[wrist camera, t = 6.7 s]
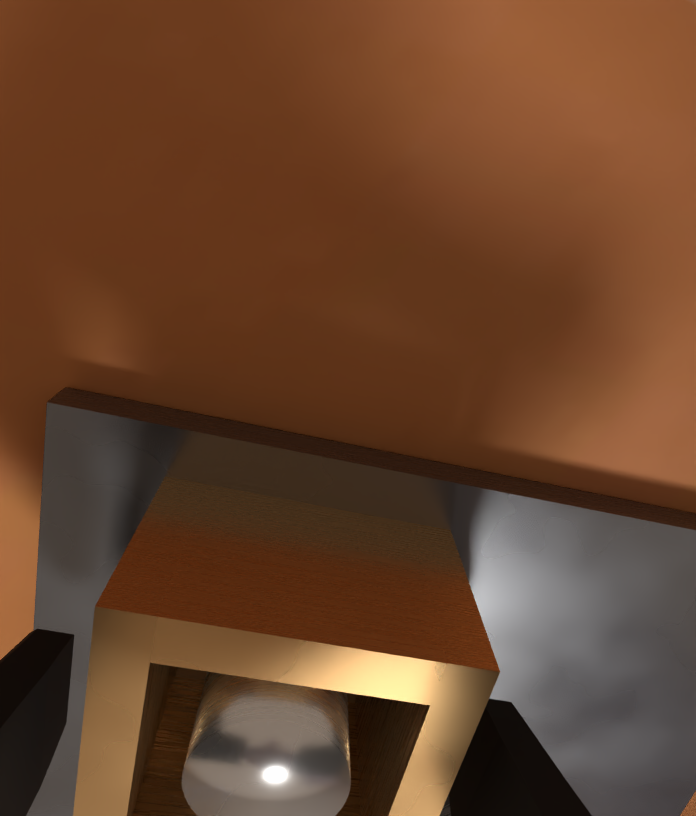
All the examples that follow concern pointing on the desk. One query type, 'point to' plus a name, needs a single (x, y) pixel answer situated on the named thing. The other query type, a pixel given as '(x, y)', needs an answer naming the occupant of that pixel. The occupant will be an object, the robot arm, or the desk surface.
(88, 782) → the collar
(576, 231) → the desk surface
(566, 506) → the steel plate
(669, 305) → the desk surface
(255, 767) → the post
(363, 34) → the desk surface
